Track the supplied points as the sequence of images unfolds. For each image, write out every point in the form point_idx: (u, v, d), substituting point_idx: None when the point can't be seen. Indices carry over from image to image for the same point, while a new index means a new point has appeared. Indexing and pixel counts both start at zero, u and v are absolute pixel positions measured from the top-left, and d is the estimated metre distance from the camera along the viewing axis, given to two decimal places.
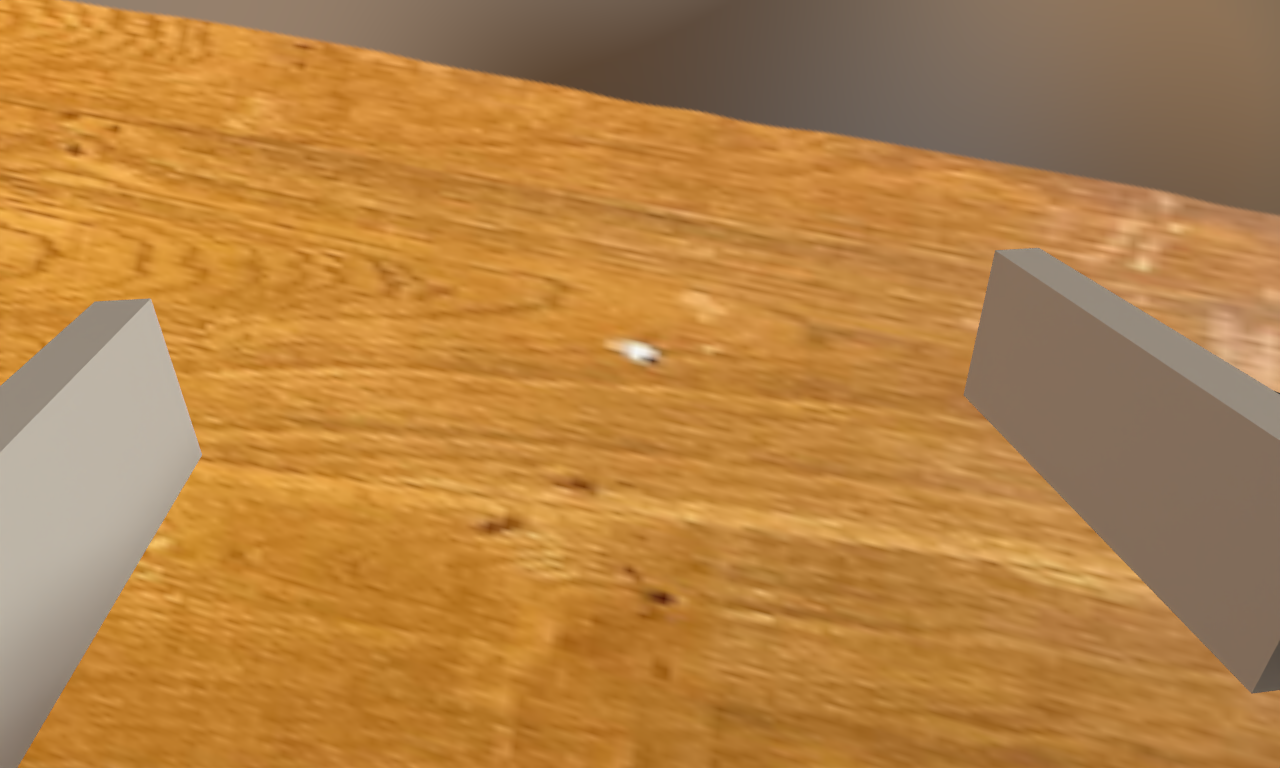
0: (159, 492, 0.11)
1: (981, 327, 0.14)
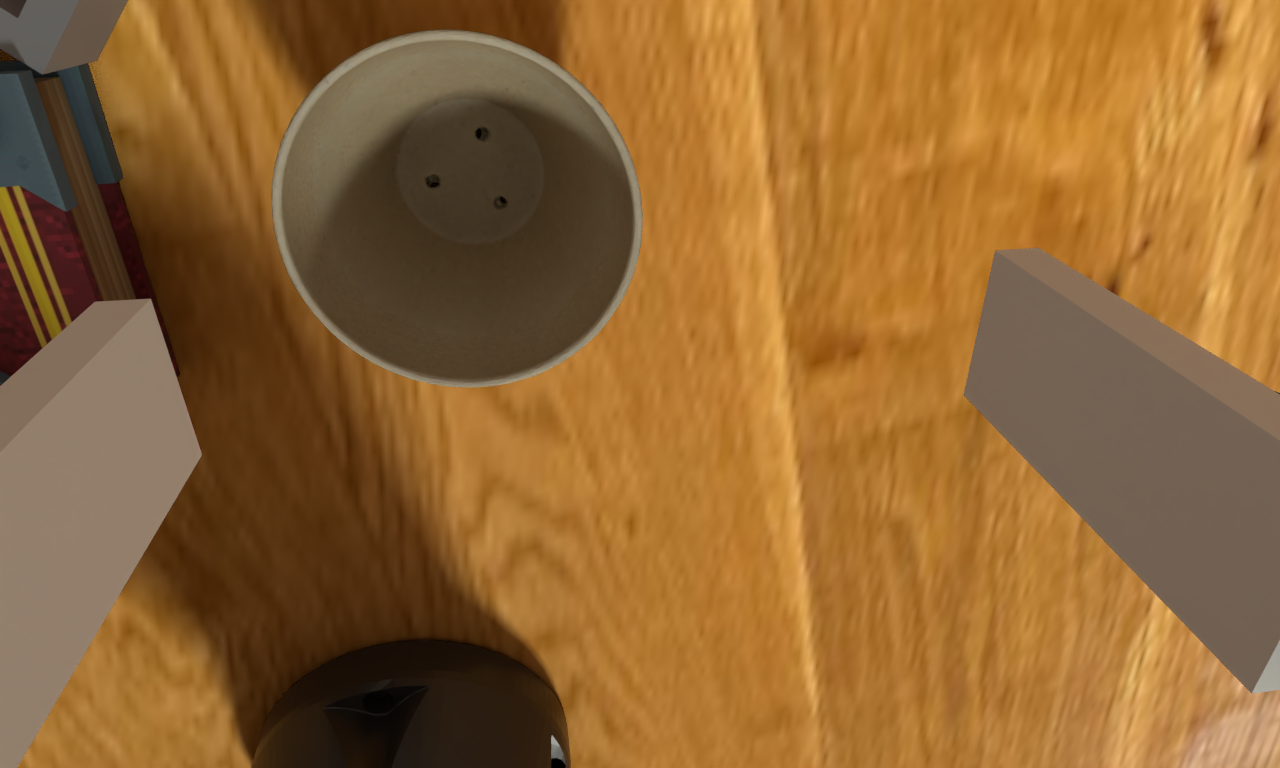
0: (159, 492, 0.11)
1: (981, 327, 0.14)
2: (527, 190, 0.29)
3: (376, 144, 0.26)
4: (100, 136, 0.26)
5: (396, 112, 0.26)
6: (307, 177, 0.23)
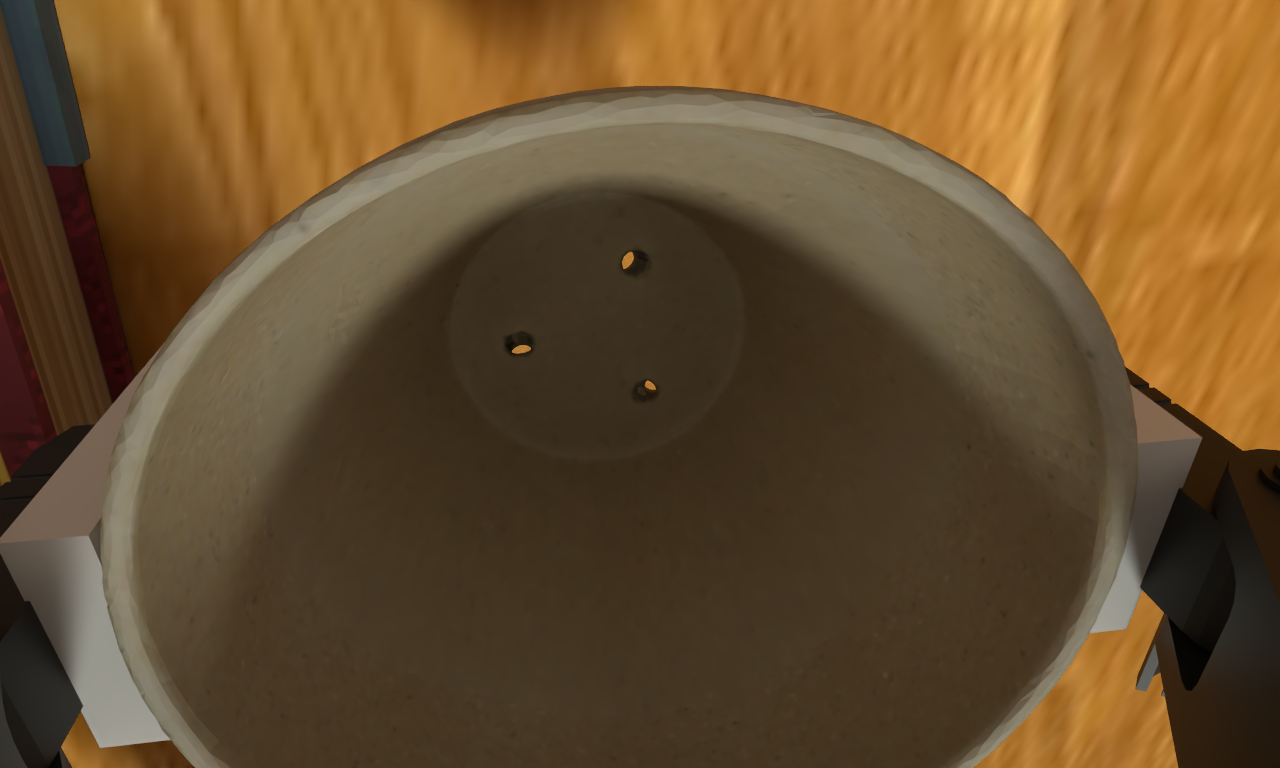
0: None
1: None
2: (702, 373, 0.14)
3: (416, 282, 0.12)
4: (56, 91, 0.16)
5: (468, 218, 0.11)
6: (235, 417, 0.09)
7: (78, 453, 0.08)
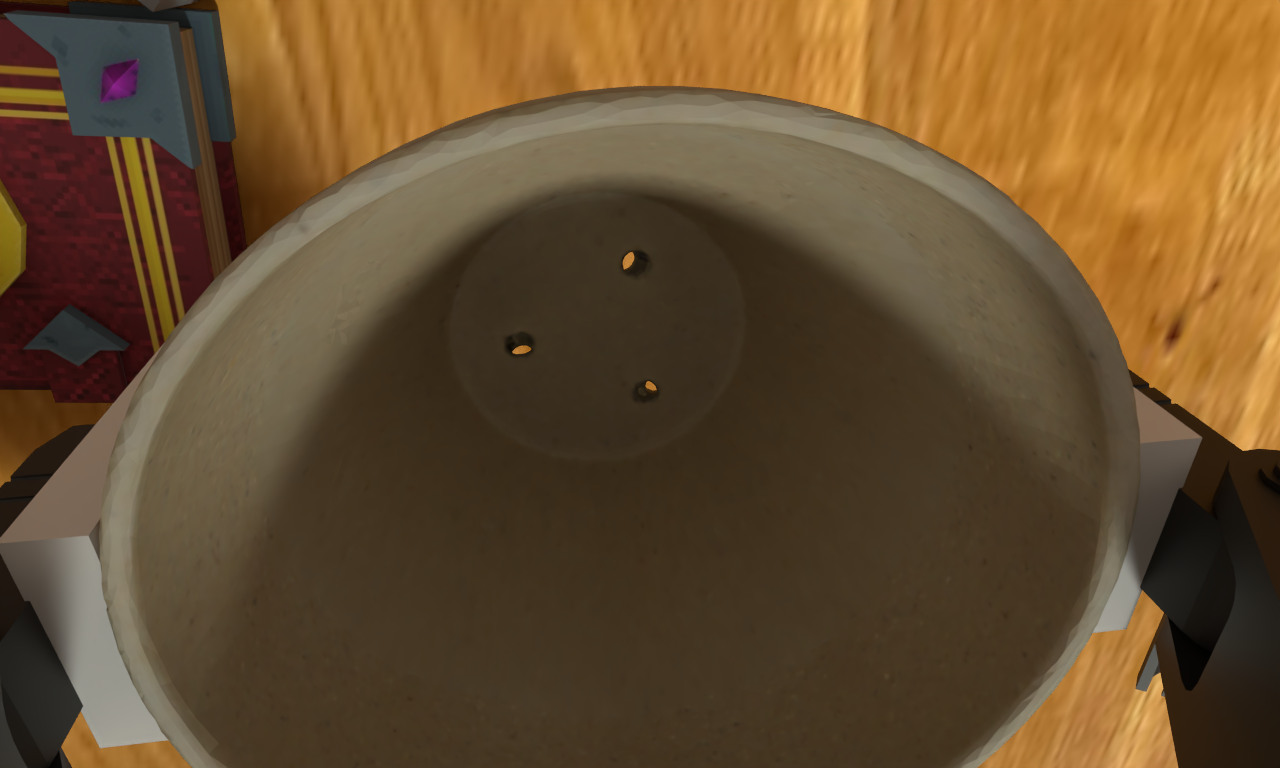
0: None
1: None
2: (704, 373, 0.14)
3: (416, 282, 0.12)
4: (222, 93, 0.25)
5: (469, 218, 0.11)
6: (234, 418, 0.08)
7: (77, 453, 0.08)
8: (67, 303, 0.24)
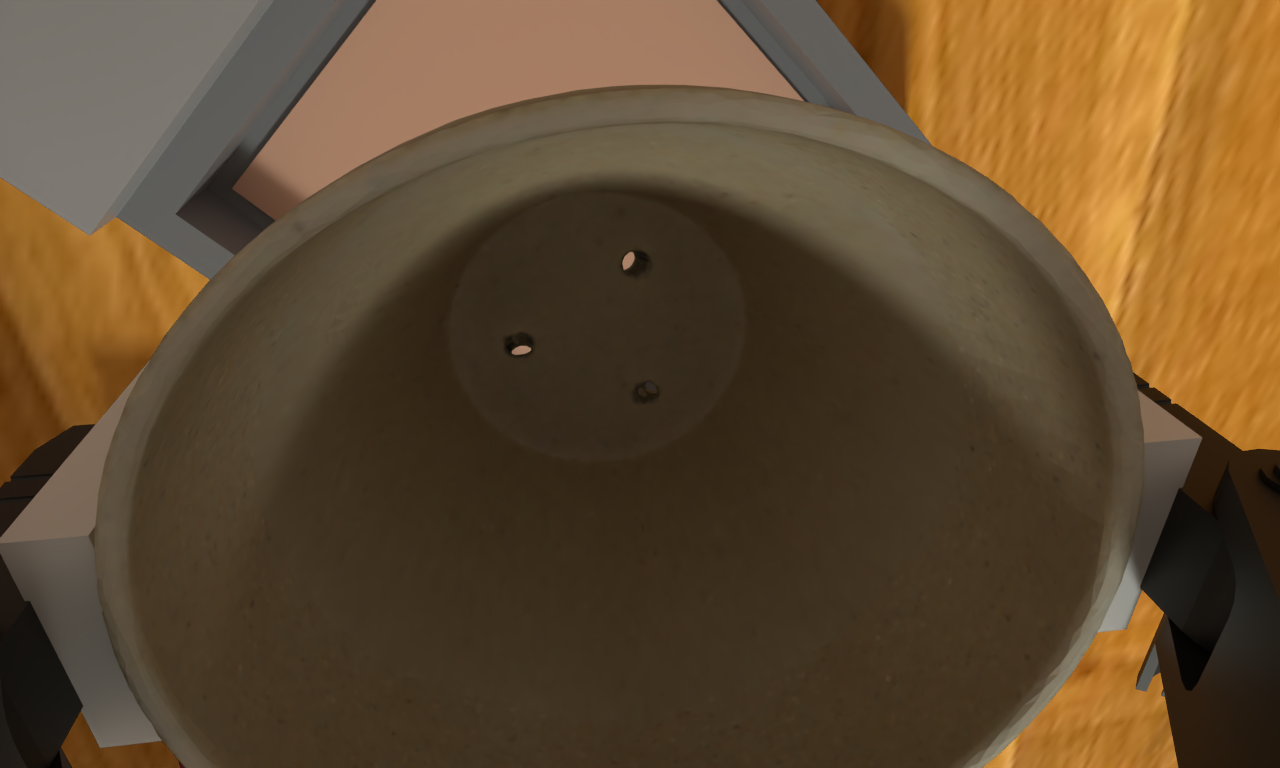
0: None
1: None
2: (703, 374, 0.14)
3: (415, 282, 0.12)
4: None
5: (468, 219, 0.11)
6: (231, 419, 0.08)
7: (76, 453, 0.08)
8: None
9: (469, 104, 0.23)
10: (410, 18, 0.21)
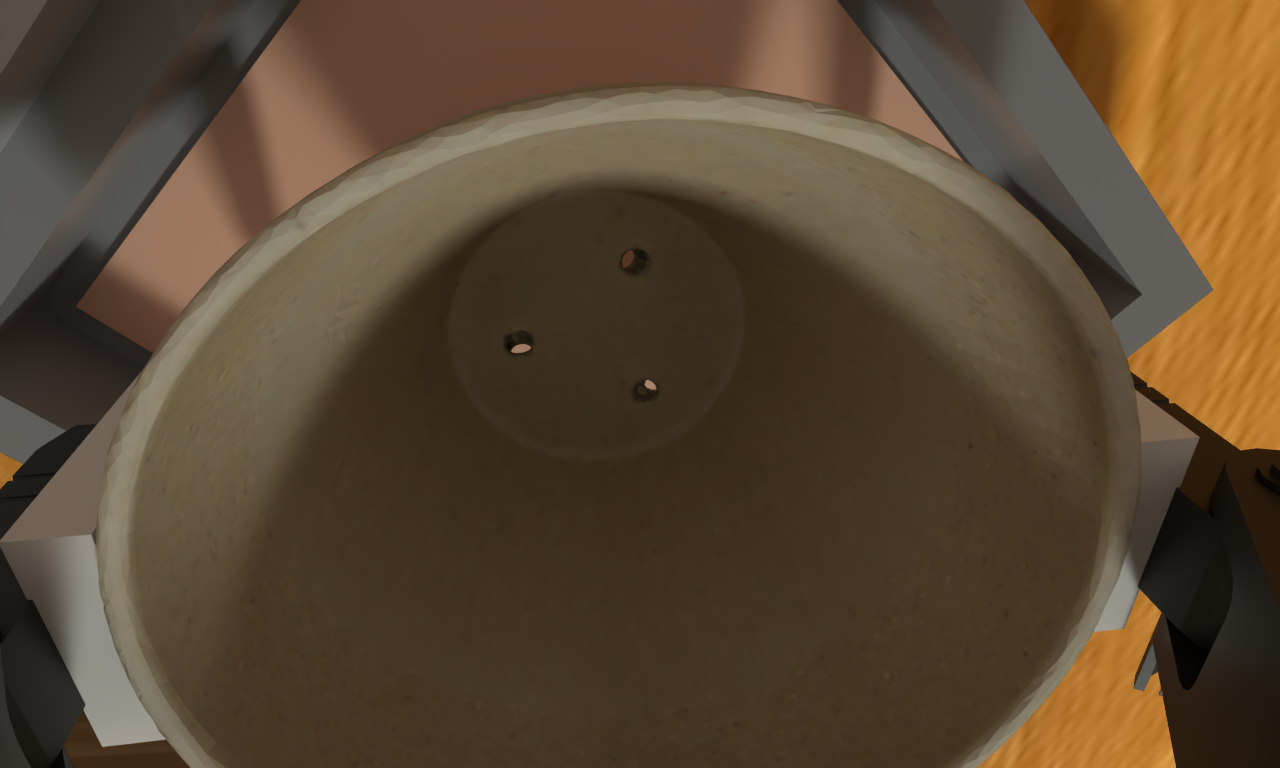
0: None
1: None
2: (703, 372, 0.14)
3: (415, 281, 0.12)
4: None
5: (467, 217, 0.11)
6: (232, 417, 0.08)
7: (80, 453, 0.08)
8: None
9: None
10: (350, 41, 0.13)
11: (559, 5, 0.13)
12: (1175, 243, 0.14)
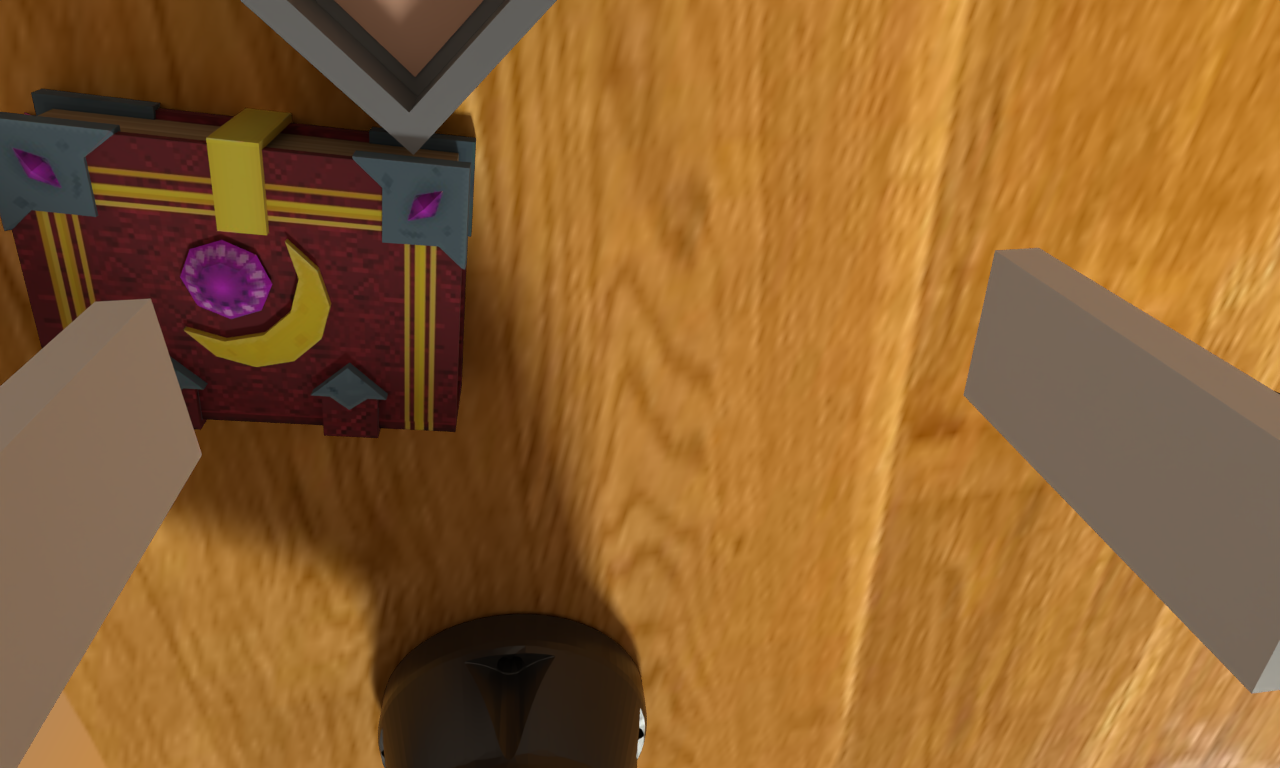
0: (159, 492, 0.11)
1: (981, 327, 0.14)
2: None
3: None
4: (472, 200, 0.32)
5: None
6: None
7: None
8: (347, 362, 0.31)
9: None
10: None
11: None
12: None
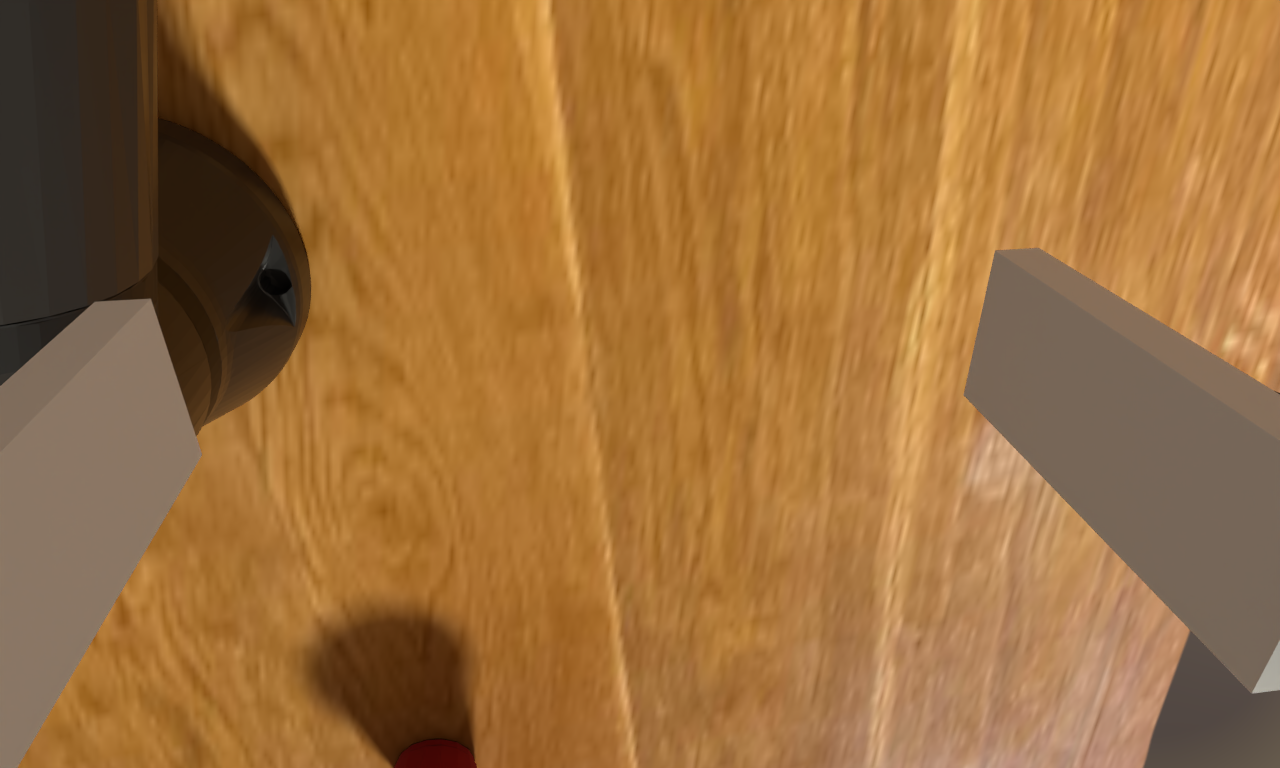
0: (159, 491, 0.11)
1: (981, 327, 0.14)
2: None
3: None
4: None
5: None
6: None
7: None
8: None
9: None
10: None
11: None
12: None
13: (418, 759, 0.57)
